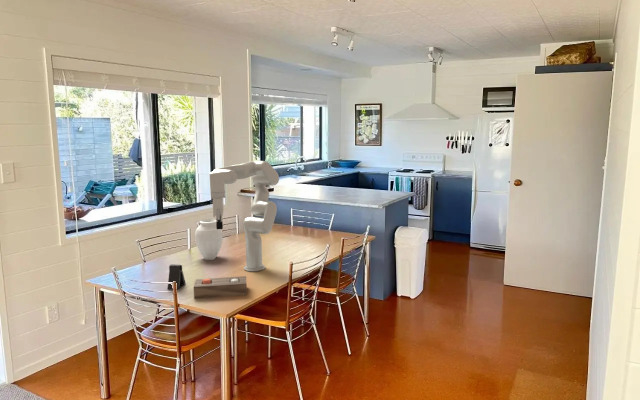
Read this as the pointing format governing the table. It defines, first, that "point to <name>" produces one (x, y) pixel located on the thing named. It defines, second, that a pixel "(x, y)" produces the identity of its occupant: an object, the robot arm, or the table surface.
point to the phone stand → (176, 276)
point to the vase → (208, 239)
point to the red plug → (207, 281)
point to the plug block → (220, 287)
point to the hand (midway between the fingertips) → (219, 228)
